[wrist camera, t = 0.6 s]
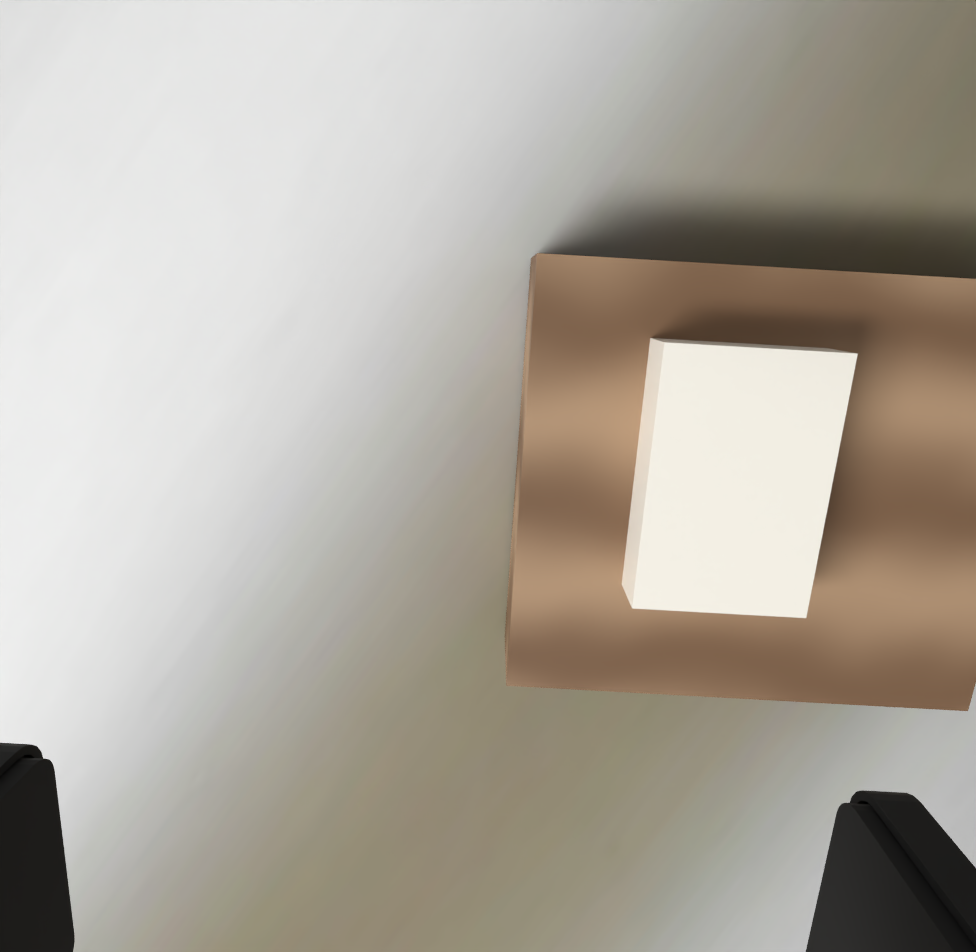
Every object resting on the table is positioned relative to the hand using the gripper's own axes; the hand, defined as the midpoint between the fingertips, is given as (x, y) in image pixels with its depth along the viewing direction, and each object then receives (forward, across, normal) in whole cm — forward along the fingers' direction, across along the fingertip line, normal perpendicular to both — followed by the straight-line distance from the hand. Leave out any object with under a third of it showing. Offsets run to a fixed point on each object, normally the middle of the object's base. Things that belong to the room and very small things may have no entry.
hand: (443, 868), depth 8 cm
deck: (+21, -10, 0) cm, 23 cm away
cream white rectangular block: (+17, -8, -1) cm, 19 cm away
